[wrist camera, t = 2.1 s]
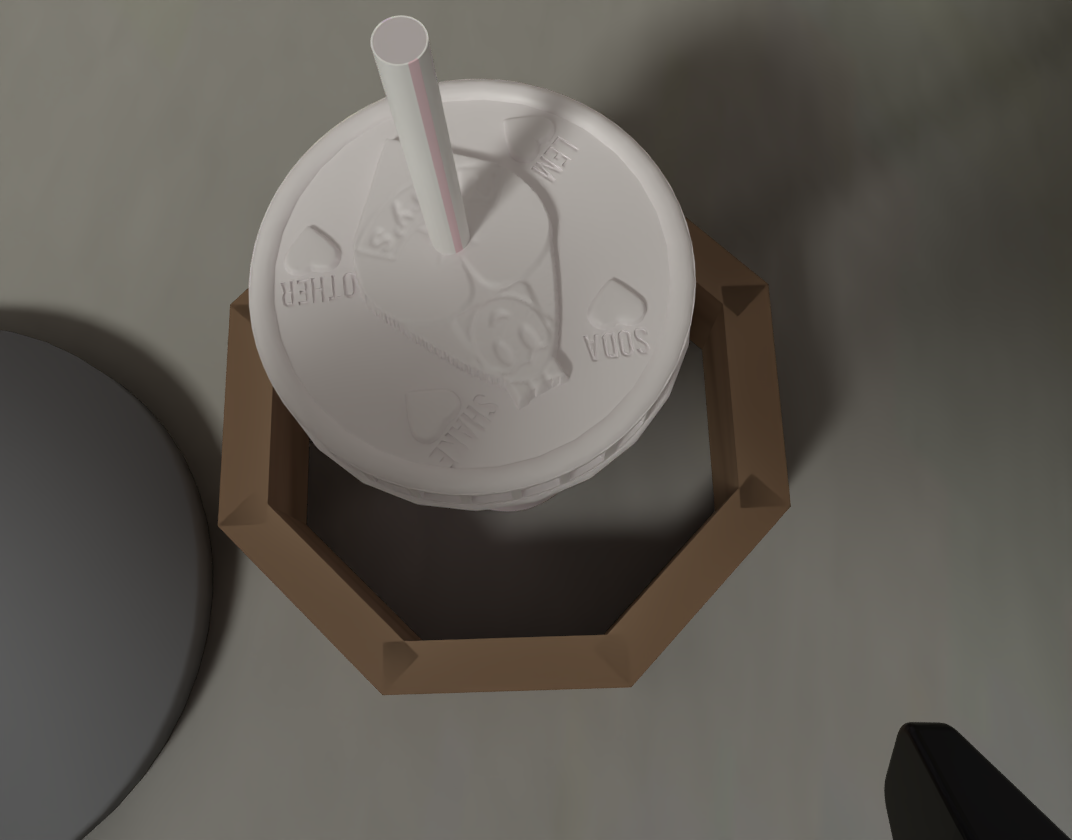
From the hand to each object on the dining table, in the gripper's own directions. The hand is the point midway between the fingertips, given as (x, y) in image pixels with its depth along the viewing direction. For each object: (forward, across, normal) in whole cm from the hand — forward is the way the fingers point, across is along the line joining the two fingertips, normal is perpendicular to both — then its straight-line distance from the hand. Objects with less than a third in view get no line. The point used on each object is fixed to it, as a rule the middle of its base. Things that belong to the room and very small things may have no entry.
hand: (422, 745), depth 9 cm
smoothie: (+13, 0, +5) cm, 14 cm away
